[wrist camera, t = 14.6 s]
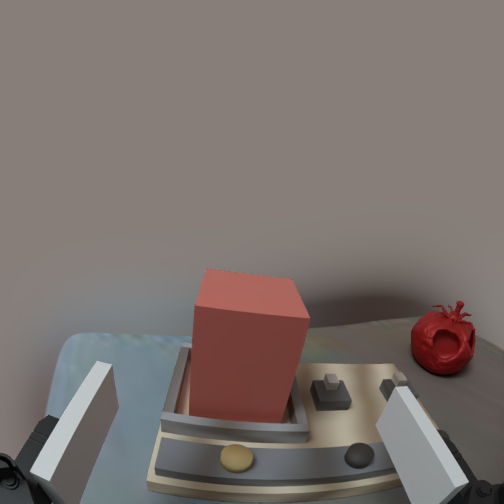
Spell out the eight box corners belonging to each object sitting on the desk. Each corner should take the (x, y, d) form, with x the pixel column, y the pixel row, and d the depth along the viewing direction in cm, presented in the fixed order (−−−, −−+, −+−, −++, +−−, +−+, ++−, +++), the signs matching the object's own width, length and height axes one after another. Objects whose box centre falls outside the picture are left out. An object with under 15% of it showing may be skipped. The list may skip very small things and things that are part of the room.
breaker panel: (389, 373, 31) (399, 349, 30) (450, 470, 16) (471, 444, 15) (180, 361, 30) (182, 333, 29) (148, 490, 14) (142, 464, 13)
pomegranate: (393, 345, 39) (412, 285, 37) (444, 346, 39) (464, 291, 37) (421, 384, 29) (449, 314, 27) (476, 380, 29) (502, 317, 27)
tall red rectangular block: (271, 375, 27) (291, 279, 25) (279, 427, 21) (310, 318, 18) (197, 367, 27) (206, 268, 24) (188, 419, 20) (194, 305, 18)
